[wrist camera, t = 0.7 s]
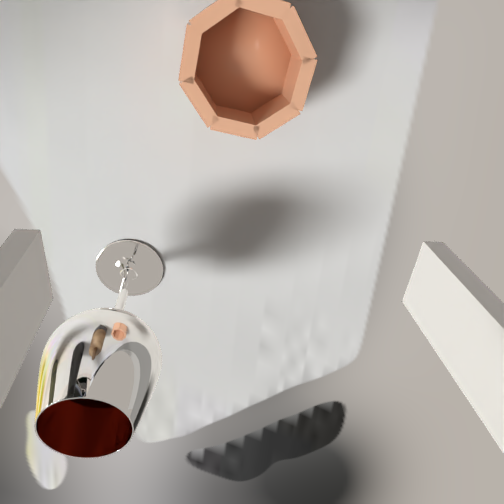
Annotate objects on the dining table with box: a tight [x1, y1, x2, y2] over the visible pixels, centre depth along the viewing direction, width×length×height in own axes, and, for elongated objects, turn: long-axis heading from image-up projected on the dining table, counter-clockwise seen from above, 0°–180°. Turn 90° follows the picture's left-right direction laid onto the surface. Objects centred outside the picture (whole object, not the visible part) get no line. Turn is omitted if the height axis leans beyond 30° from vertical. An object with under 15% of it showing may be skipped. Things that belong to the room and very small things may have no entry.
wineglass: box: [35, 240, 163, 458], centre depth 33 cm, size 8×8×18 cm
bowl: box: [178, 0, 317, 140], centre depth 30 cm, size 9×9×5 cm
